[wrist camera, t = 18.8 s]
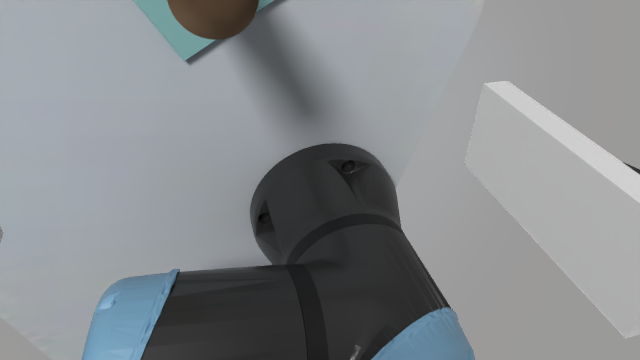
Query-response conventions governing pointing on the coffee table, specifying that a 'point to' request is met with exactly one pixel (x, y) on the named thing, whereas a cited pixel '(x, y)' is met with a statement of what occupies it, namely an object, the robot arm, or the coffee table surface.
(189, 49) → the key mat
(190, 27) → the key peg
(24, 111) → the coffee table surface
